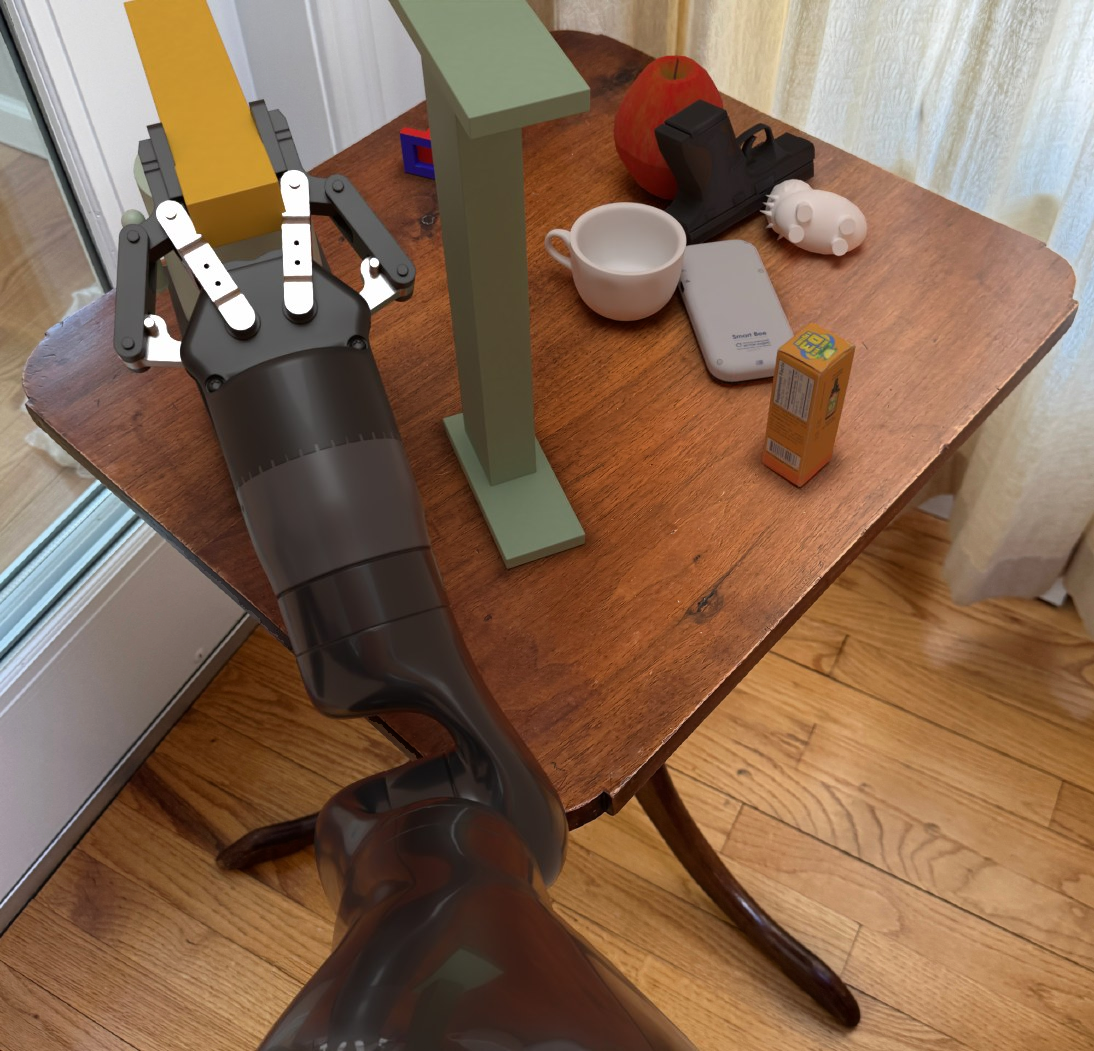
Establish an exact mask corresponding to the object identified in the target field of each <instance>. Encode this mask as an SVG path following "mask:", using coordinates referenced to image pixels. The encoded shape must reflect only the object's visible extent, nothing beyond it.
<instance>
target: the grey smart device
mask: <svg viewBox="0 0 1094 1051" xmlns="http://www.w3.org/2000/svg"><path fill="white" fill-rule="evenodd" d="M677 288H678V291H679V294H680V297H681V299H682V302H683V305H684V308H685V310H686V313H687V317H688V319H689V321H690V324H691V327H692V330H693V333H694V335H695V338H696V341H697V344H698V346H699V350H700V352H701V354H702V358H703V361H704V363H705V366H706V368H707V371H708V373H709V375H710V376H711V377H712V378H713V379H714V380H715V381H717V382H718V383H721V384H725V385H740V384H746V383H754V382H760V381H768V380H773V379H774V371H775V365H776V357H777V350H778V349H779V348H780V347H781V346H782V345H784V344H785V343H786V342H787V341H788V340H790V339H791V338H792V337H793V336H795V334H794V332H793V329H792V327H791V325H790V322H789V320H788V318H787V316H786V313H785V311H784V308H783V306H782V304H781V301H780V299H779V297H778V295H777V292H776V289H775V287H774V285H773V283H772V281H771V279H770V276H769V273H768V271H767V269H766V267H765V265H764V262H763V260H762V258H761V255H760V253H759V251H758V249H757V248H756V246H755V245H753V243H751V242H749V241H747V240H743V239H726V240H720V241H712V242H706V243H705V242H703V243H700V244H696V245H689V246H686V248H685V254H684V260H683V265H682V270H681V275H680V278H679V282H678V284H677Z"/></svg>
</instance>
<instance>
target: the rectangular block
mask: <svg viewBox="0 0 1094 1051" xmlns="http://www.w3.org/2000/svg"><path fill="white" fill-rule="evenodd" d="M123 6H124V7H123V8H124V11H125V14H126V17H127V19H128V22H129V27H130V30H131V32H132V35H133V36H132V37H133V40H134V42H135V46H136V48H137V51H138V55H139V58H140V61H141V66H142V68H143V71H144V74H145V77H146V80H147V81H146V82H147V85H148V87H149V90H150V93H151V97H152V100H153V103H154V106H155V109H156V113H157V116H158V120H159V123H160V122H162V124H163V127H164V130H165V133H166V136H167V140H168V143H169V146H170V149H171V152H172V155H173V159H174V162H175V165H176V166H175V171H176V174H177V177H178V181H179V184H180V187H181V190H182V194H183V197H184V200H185V203H186V206H187V209H188V212H189V215H190V218H191V220H192V223H193V226H194V229H195V232H196V234H197V235H199V234H201V235H202V237H203V238H204V239H205V240H206V241H207V242H208V244H209V245H210V247H211V248H216V247H220V246H224V245H227V244H231V243H235V242H239V241H242V240H246V239H250V238H254V237H257V236H261V235H265V234H269V233H272V232H276V231H280V230H282V213H286V208H285V204H284V200H283V197H282V193H281V189H280V185H279V182H278V179H277V177H276V174H275V172H274V169H273V167H272V164H271V162H270V159H269V157H268V154H267V152H266V149H265V147H264V144H263V143H262V141H261V138H260V136H259V133H258V131H257V128H256V126H255V123H254V121H253V118H252V116H251V113H250V108H249V103H248V102H247V99H246V96H245V94H244V92H243V89H242V86H241V84H240V82H239V79H238V76H237V74H236V71H235V69H234V67H233V64H232V61H231V59H230V56H229V54H228V52H227V49H226V46H225V44H224V41H223V39H222V37H221V34H220V31H219V29H218V27H217V23H216V22H215V18H214V16H213V13H212V11H211V8H210V6H209V4H208V2H207V0H127V1H124V2H123Z"/></svg>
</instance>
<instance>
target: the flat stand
mask: <svg viewBox="0 0 1094 1051" xmlns="http://www.w3.org/2000/svg"><path fill="white" fill-rule="evenodd" d="M387 1H388V2H389V4H390V6H391V8H392V9H393V10H394V12H395V14H396V15H397V17H398V19H399V21H400V23H401V24H402V26H403V27H404V29H405V31H406V33H407V35H408V36H409V38H410V40H411V41H412V43H413V44H414V46H415V48H416V50H417V51H418V53H419V55H420V60H421V68H422V70H421V71H422V77H423V87H424V93H425V94H424V95H425V103H426V111H427V113H426V114H427V120H428V126H429V130H430V138H431V147H432V155H433V164H434V172H435V179H434V181H435V188H436V197H437V205H438V214H439V221H440V222H439V223H440V229H441V230H440V231H441V232H440V233H441V240H442V248H443V256H444V265H445V273H446V274H445V275H446V284H447V291H448V299H449V300H448V301H449V308H450V317H451V325H452V326H451V327H452V333H453V341H454V350H455V359H456V368H457V375H458V376H457V377H458V384H459V392H460V394H459V395H460V401H461V402H460V403H461V410H462V412H459V413H457V414H456V413H455V414H454V415H450V416H446V417H443V418H442V424H443V429H444V432H445V434H446V436H447V438H448V441H449V443H450V445H451V447H452V450H453V452H454V454H455V456H456V459H457V461H458V463H459V466H460V467H461V470H462V472H463V474H464V476H465V479H466V481H467V484H468V485H469V487H470V490H471V492H472V494H473V497H474V499H475V501H476V503H477V505H478V508H479V510H480V512H481V514H482V516H483V518H484V521H485V524H486V526H487V528H488V530H489V533H490V534H491V537H492V538H493V541H494V543H495V545H496V547H497V550H498V552H499V555H500V557H501V559H502V561H503V563H504V566H505V567H506V569H508V570H509V569H512V568H515V567H518V566H521V565H524V564H527V563H530V562H533V561H536V560H539V559H542V558H545V557H548V556H551V555H554V554H557V553H560V552H564V551H567V550H570V549H572V548H576V547H579V546H582V545H585V544H586V533H585V531H584V529H583V526H582V524H581V522H580V521H579V519H578V517H577V515H576V512H575V511H574V508H573V507H572V505H571V503H570V501H569V499H568V497H567V495H566V493H565V491H564V489H563V487H562V486H561V483H560V482H559V480H558V477H557V476H556V473H555V472H554V470H553V467H552V465H551V464H550V462H549V460H548V457H546V454H545V452H544V451H543V448H542V446H541V444H540V442H539V439H538V438H537V437H536V431H535V430H536V428H535V408H534V389H533V388H534V385H533V384H534V383H533V382H534V381H533V362H532V361H533V360H532V342H531V341H532V338H531V319H530V318H531V316H530V295H529V294H530V293H529V292H530V291H529V271H528V270H529V269H528V268H529V266H528V246H527V224H526V223H527V222H526V202H525V201H526V199H525V181H524V180H525V179H524V159H523V158H524V156H523V133H522V132H523V131H522V129H523V128H525V127H530V126H533V125H537V124H541V123H545V122H550V121H554V120H557V119H558V120H559V119H561V118H566V117H569V116H570V117H571V116H574V115H579V114H582V113H586V112H590V110H591V88H590V85H588V82H586V80H585V79H584V78H583V77H582V75H581V73H580V72H579V71H578V70H577V68H576V67H575V66H574V63H572V61H571V60H570V58H569V57H568V56H567V55H566V53H565V52H564V51H563V49H562V48H561V47H560V45H559V44H558V42H557V41H556V40H555V38H554V37H553V35H552V33H550V31H549V29H547V27H546V26H545V25H544V23H543V22H542V20H541V19H540V18H539V16H538V15H537V14H536V12H535V11H534V10H533V8H532V7H531V5H530V3H528V1H527V0H387Z"/></svg>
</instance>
